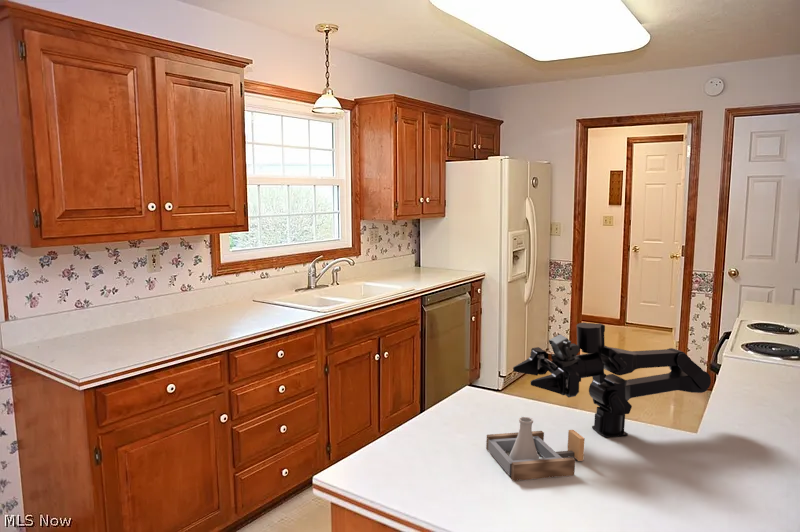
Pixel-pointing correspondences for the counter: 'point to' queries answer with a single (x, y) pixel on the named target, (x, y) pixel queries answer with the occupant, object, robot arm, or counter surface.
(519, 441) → the flask
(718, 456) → the counter surface
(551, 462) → the lane rails
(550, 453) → the sliding frame
